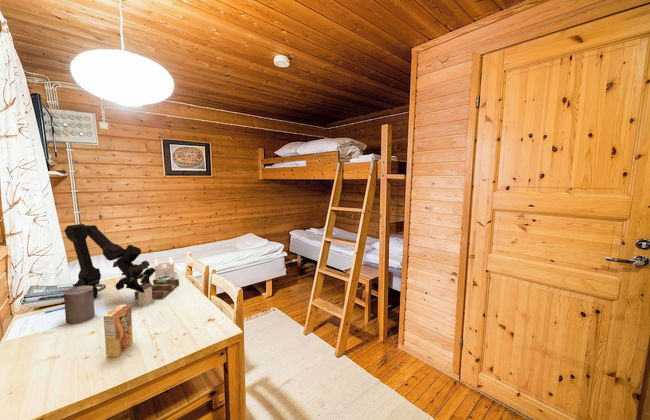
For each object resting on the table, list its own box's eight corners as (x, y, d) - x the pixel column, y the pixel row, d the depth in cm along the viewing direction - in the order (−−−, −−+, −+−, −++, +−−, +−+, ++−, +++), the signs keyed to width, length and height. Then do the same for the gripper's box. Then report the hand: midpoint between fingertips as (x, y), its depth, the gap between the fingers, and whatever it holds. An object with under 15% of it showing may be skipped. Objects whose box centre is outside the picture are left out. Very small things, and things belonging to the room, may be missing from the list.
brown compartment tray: (134, 299, 140) (134, 290, 139) (154, 286, 158) (154, 277, 158) (162, 299, 141) (162, 289, 140) (179, 285, 159) (178, 277, 159)
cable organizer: (155, 275, 176) (154, 258, 175) (173, 272, 182) (172, 256, 181) (155, 282, 163) (154, 264, 162) (175, 279, 169) (174, 261, 168)
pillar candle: (62, 320, 118) (58, 288, 116) (89, 311, 127) (86, 281, 125) (71, 326, 114) (68, 293, 112) (99, 316, 122) (97, 285, 120)
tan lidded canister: (145, 305, 133) (144, 286, 132) (138, 305, 134) (137, 285, 133) (152, 302, 137) (151, 283, 136) (145, 301, 138) (144, 282, 137)
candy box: (122, 342, 103) (119, 304, 101) (133, 342, 103) (131, 304, 101) (105, 357, 94) (102, 316, 92) (118, 357, 94) (115, 315, 93)
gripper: (118, 262, 125) (140, 287, 124) (151, 252, 143) (170, 274, 142) (106, 277, 127) (127, 302, 126) (140, 265, 145) (158, 287, 144)
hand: (147, 290), depth 134 cm, fingers closed on tan lidded canister, 4 cm apart
